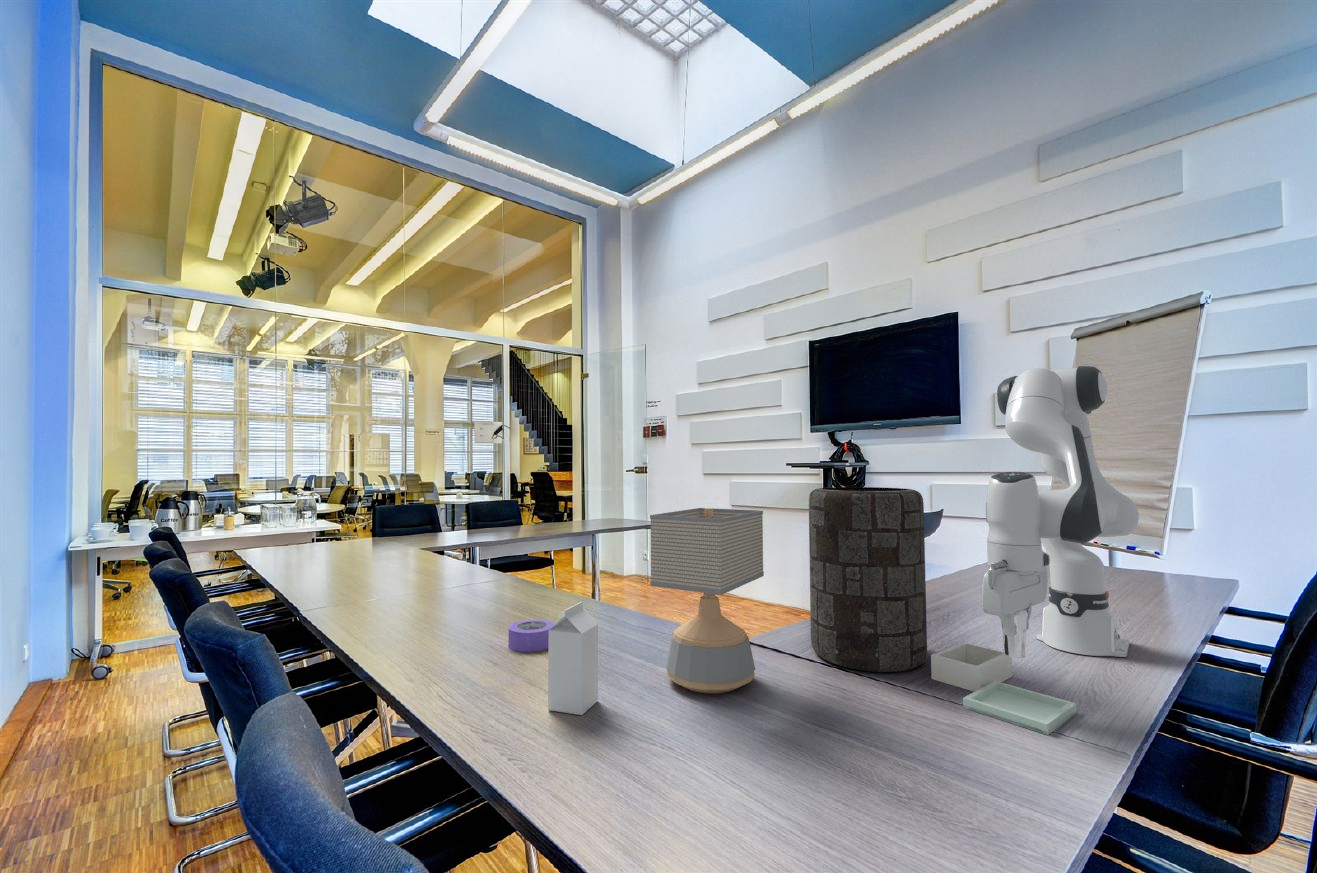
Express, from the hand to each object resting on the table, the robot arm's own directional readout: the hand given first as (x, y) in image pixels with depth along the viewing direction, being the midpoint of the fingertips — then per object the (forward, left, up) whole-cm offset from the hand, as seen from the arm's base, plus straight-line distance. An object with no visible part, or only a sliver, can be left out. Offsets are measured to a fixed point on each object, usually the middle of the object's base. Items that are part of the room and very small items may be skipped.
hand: (1016, 632), depth 108 cm
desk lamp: (+36, -46, -15) cm, 60 cm away
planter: (-5, -35, -15) cm, 38 cm away
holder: (-10, -13, -14) cm, 22 cm away
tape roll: (+55, -93, -15) cm, 109 cm away
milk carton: (+65, -53, -15) cm, 85 cm away
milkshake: (0, 0, -5) cm, 5 cm away
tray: (0, 0, -14) cm, 14 cm away
